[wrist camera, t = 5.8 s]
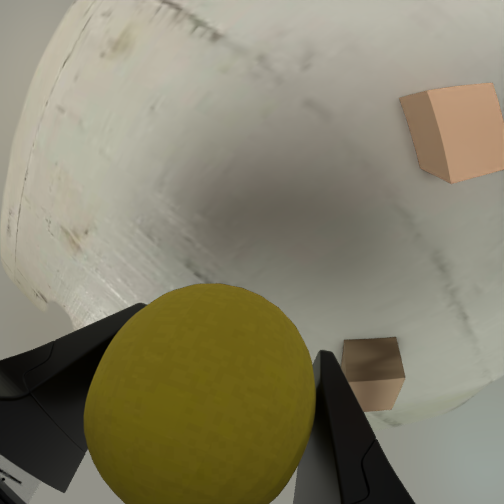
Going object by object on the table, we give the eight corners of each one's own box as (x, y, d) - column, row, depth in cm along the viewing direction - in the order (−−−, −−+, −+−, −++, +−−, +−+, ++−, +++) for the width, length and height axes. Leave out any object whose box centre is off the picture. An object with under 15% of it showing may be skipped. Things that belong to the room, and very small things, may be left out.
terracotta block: (455, 88, 12) (492, 82, 8) (473, 154, 14) (511, 167, 9) (398, 98, 14) (426, 90, 9) (419, 168, 15) (451, 184, 11)
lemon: (251, 375, 11) (196, 541, 4) (150, 298, 11) (31, 455, 4) (353, 313, 9) (350, 564, 2) (230, 201, 8) (7, 461, 1)
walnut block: (395, 336, 22) (405, 377, 17) (386, 370, 24) (391, 409, 19) (344, 339, 23) (345, 382, 19) (340, 373, 25) (339, 412, 21)
